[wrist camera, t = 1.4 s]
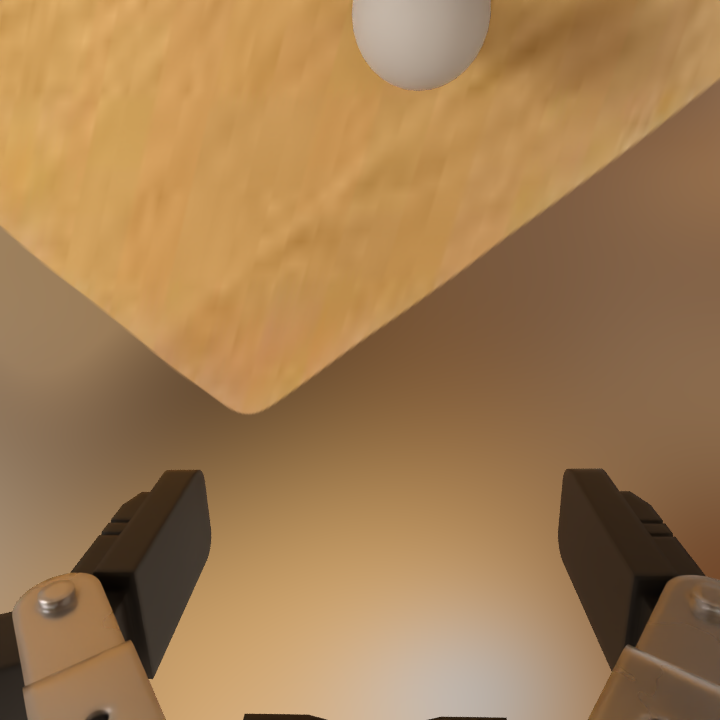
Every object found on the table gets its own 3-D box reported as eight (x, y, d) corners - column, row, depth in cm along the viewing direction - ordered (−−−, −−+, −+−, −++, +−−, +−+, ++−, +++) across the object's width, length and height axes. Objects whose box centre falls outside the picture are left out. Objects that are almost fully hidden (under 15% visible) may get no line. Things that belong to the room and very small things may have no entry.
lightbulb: (334, 41, 34) (321, 33, 24) (396, -67, 31) (410, -126, 21) (420, 106, 35) (441, 124, 25) (485, 7, 33) (536, -15, 23)
